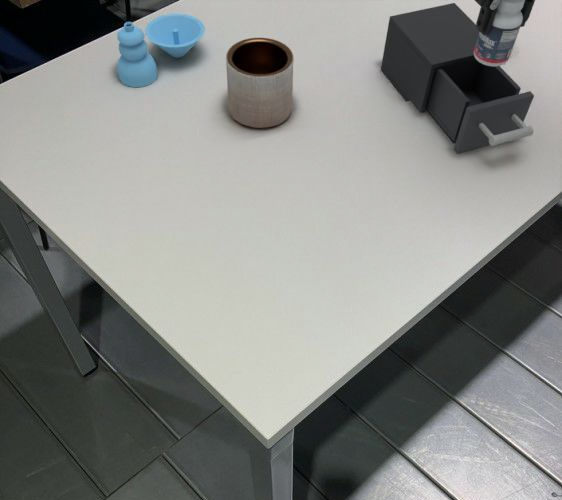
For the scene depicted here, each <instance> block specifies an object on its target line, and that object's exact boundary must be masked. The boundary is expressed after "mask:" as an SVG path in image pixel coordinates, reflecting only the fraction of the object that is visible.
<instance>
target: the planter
mask: <svg viewBox="0 0 562 500" xmlns="http://www.w3.org/2000/svg"><path fill="white" fill-rule="evenodd" d="M294 61H295V59H294V53H293V51H292V50H291V48H290V47H288V46H287V44H285V43H284V42H281V41H279V40H276V39H273V38H267V37H250V38H246V39H242V40H240V41H237V42H236V43H234V44H232V45H231V46H230V48H229V49H228V50H227V52H226V55H225V63H226V64H225V65H226V86H227V87H226V88H227V89H226V90H227V91H226V92H227V108H228V112H229V114H230V116H231V118H233V120H235V121H236V122H238V123H239V124H241V125H244V126H246V127H250V128H254V129H266V128H273V127H276V126H278V125H280V124H282V123H284V122H285V121H287V119H288V118H289V117H290V116H291V113H292V110H293V98H294V97H293V95H294V94H293V93H294V92H293V91H294V89H293V88H294Z"/></svg>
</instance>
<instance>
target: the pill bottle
mask: <svg viewBox="0 0 562 500" xmlns="http://www.w3.org/2000/svg"><path fill="white" fill-rule="evenodd" d="M524 2H525V0H501V1H500V3H499V4H498V6H497V12H496V15H495V18H494V21H493V24H492V28H491V31H490V33H489V34H488V35H483V34H482V33H481V32H480V33H479V36H478V39H477V43H476V46H475V49H474V57H475V58H476V60H477V61H479V62H480V63H482V64H484V65H487V66H500V67H501V66H503V65H505V64H506V63H508V61H509V60H510V57H511V54H512V52H513V49H514V46H515V43H516V41H517V38H518V35H519V32H520V29H521V28H522V27H521V24H522V20H523V15H522V13H521V9H522V8H523V5H524Z"/></svg>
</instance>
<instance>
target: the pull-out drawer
mask: <svg viewBox="0 0 562 500" xmlns="http://www.w3.org/2000/svg"><path fill="white" fill-rule="evenodd" d="M521 89H522V88H521V86H519V84H518V83H517V82H516V81H515V80H514V79H513V78H512V77H511V76H510V75H509V74H508V73H507V72H506V71H505V70H504V69H503V68H502V67H501V66H487V65H484V64H482V63H480V62H479V61H477V60H476V59H473V60H468V61H464V62H460V63H456V64H451V65H447V66H443V67H438V68H435V71H434V75H433V79H432V83H431V87H430V91H429V95H428V99H427V103H426V107H425V110H427V111H428V113H429V114H430V115H431V116H432V118H433V119H434V120H435V121H436V122H437V123H438V125H439V126H440V127H441V128H442V130H443V131H444V132H445V134H446V135H447V136H448V137H449V139H451V141H452V142H453V143H454V147H453V151H454V152H455V153H456V155H458V154H462V153H466V152H469V151H473V150H478V149H481V148H485V147H488V146H491V147H493V146H497V145H501V144H504V143H508V142H512V141H516V140H519V139H523V138H527V137H531V136H532V135H533V134H534V128H533V127H532V126H531V125H528V126H527V125H526V124H525V123H524V121H525V119H526V117H527V115H528V112H529V109H530V107H531V105H532V103H533V99H534V98H535V95H534V94H533V92H531V90H529V91H525V92H522V93H520V92H521Z"/></svg>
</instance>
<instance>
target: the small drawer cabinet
mask: <svg viewBox="0 0 562 500" xmlns="http://www.w3.org/2000/svg"><path fill="white" fill-rule="evenodd" d="M479 33H480V31H479V30H478V28H477V27H476V22H474V20H472V19H471V18H470V17H469V16H468V15H467V14H466V13H465V11H463V10H462V8H460V6H458V5H457V4H456V3H455V2H451V3H448V4H442V5H437V6H433V7H428V8H424V9H423V8H422V9H419V10H413V11H409V12H404V13H399V14H395V15H390V16H389V19H388V25H387V30H386V36H385V43H384V48H383V54H382V60H381V67H380V70H381V72H382V73H383V74H384V76H385V77H386V78H387V80H388V81H389V83H391V84H392V86H393V87H394V88H395V89H396V90H397V92H398V93H399V94H400V95H401V97H402V98H403V99H404V101H405V102H411V104H412V105H413V106H414V107H415V108H416V110H417V111H418V112H419V114H422V113H425V110H426V108H425V107H426V103H427V99H428V95H429V91H430V87H431V83H432V79H433V75H434V71H435V68H438V67H443V66H447V65H451V64H456V63H460V62H464V61H468V60H473V59H476V58H475V57H474V49H475V46H476V43H477V39H478V36H479Z"/></svg>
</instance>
